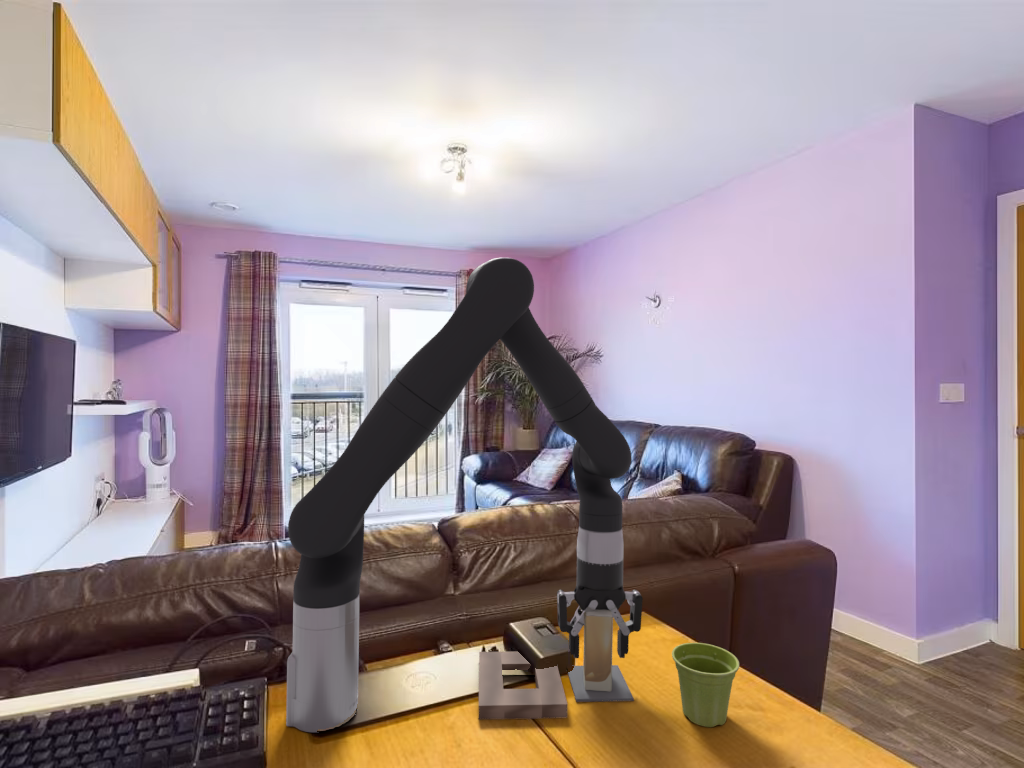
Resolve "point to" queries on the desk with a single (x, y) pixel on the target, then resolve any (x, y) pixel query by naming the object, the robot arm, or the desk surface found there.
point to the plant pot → (705, 681)
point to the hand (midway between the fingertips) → (598, 655)
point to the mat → (617, 694)
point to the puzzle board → (518, 690)
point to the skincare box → (598, 650)
